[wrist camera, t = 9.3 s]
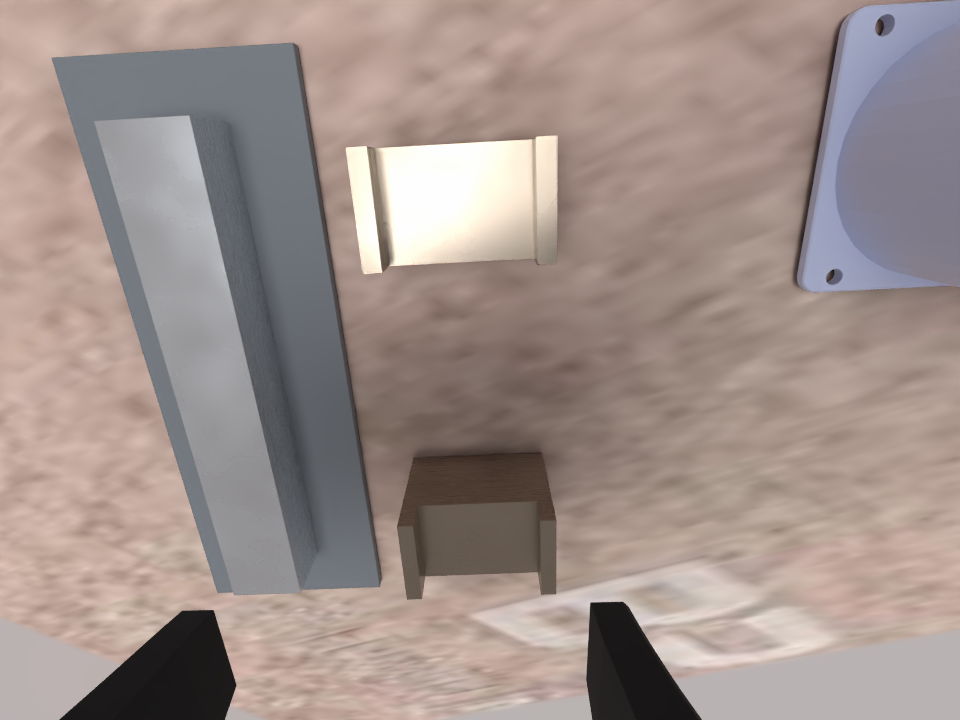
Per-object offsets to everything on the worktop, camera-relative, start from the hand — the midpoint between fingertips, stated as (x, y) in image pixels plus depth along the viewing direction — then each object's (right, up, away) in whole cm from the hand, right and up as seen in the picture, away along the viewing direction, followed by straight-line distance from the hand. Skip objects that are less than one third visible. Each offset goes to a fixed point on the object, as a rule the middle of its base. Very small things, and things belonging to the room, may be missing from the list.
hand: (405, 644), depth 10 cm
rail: (-7, +5, +8) cm, 12 cm away
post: (+1, 0, +10) cm, 10 cm away
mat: (-7, +5, +9) cm, 12 cm away
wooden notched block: (+1, +11, +6) cm, 12 cm away
